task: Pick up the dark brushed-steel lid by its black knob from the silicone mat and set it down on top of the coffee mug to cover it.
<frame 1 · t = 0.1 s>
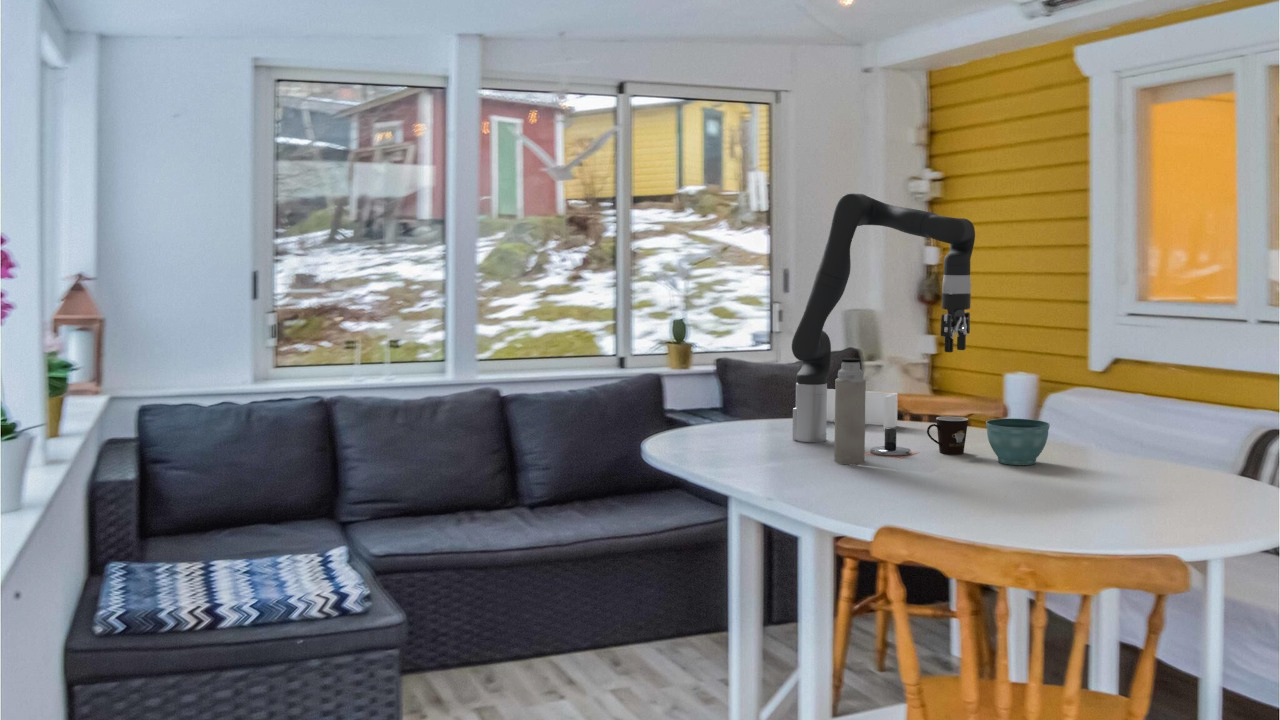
hand: (955, 351, 315), 29 cm above the table, fingers open, 8 cm apart
thermos bottle: (849, 462, 309), on the table
mat: (890, 454, 320), on the table
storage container: (854, 426, 375), on the table
lid: (890, 453, 320), resting on mat
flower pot: (1016, 463, 307), on the table
coffee mug: (945, 454, 321), on the table
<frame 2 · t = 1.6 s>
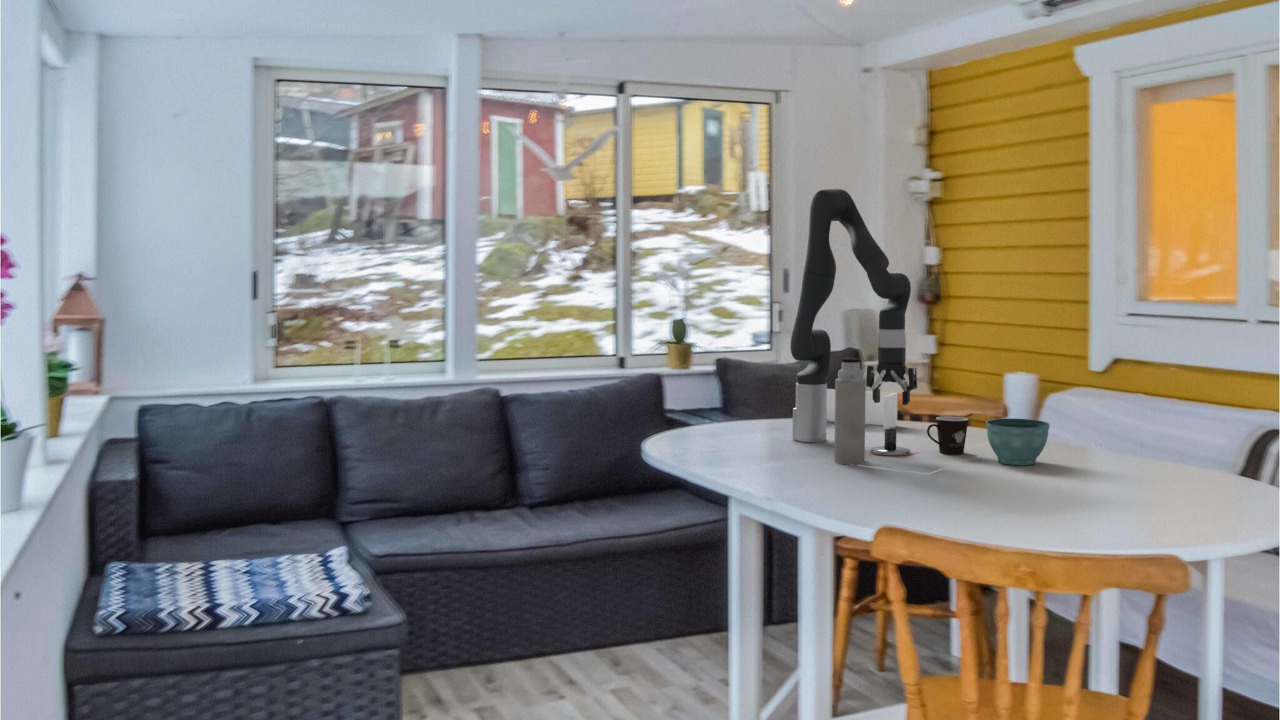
hand: (891, 403, 319), 14 cm above the table, fingers open, 8 cm apart
nothing on the table moved.
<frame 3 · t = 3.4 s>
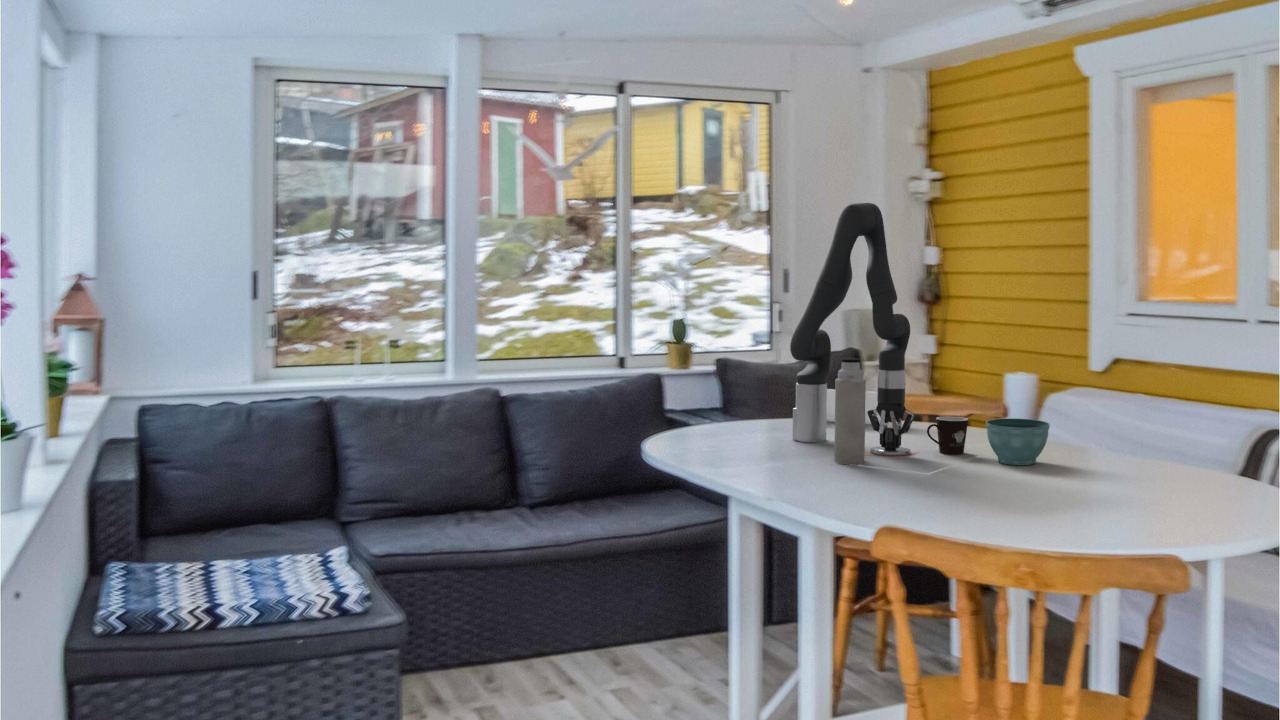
hand: (890, 447, 320), 2 cm above the table, fingers closed on lid, 3 cm apart
lid: (890, 453, 320), resting on mat, touching gripper
everything else where it was.
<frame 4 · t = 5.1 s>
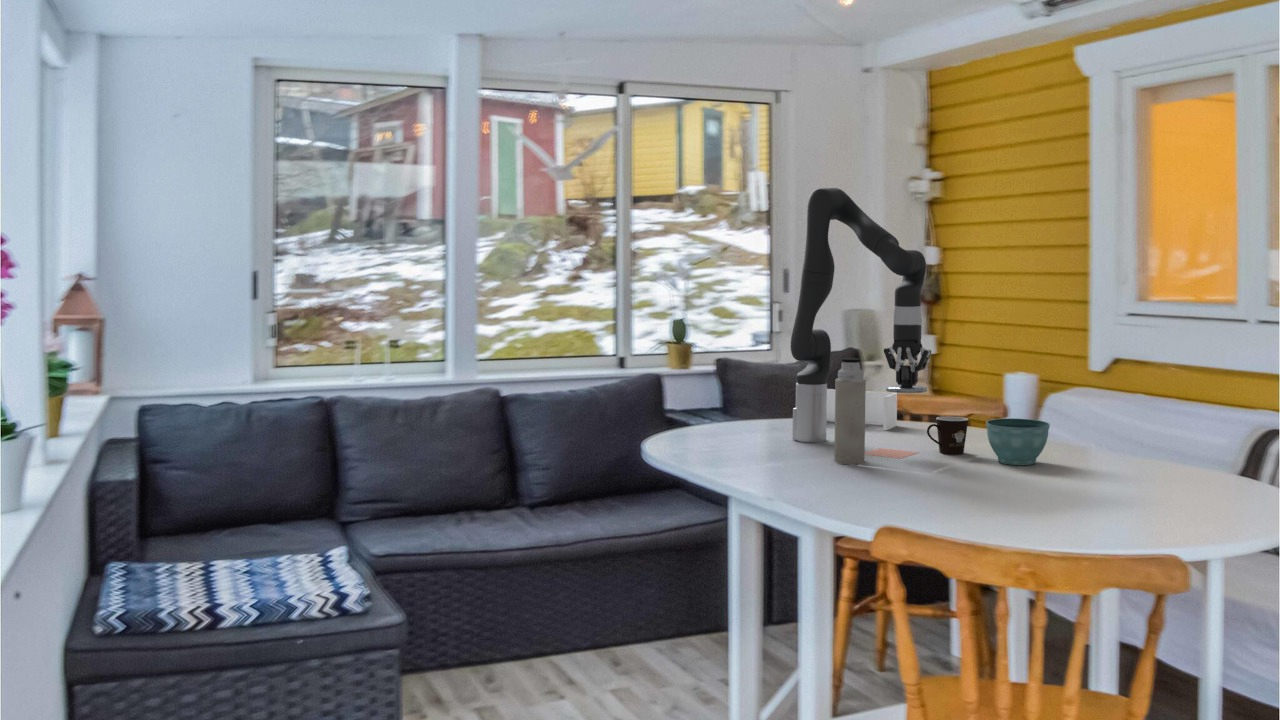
hand: (906, 384, 318), 20 cm above the table, fingers closed on lid, 3 cm apart
lid: (906, 390, 318), point 18 cm above the table, touching gripper
everything else where it was.
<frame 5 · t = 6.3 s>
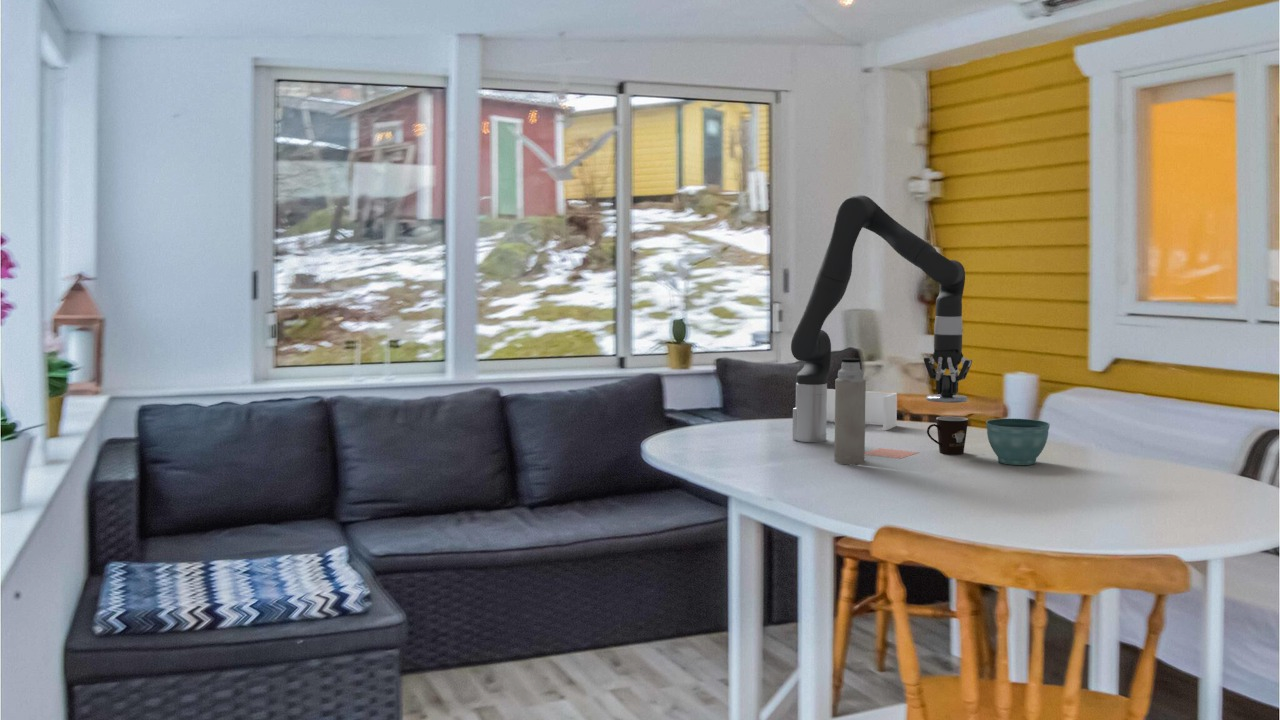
hand: (947, 394, 319), 17 cm above the table, fingers closed on lid, 3 cm apart
lid: (946, 400, 319), point 15 cm above the table, touching gripper
everything else where it was.
when the fingers open (13 cm above the table, at t = 7.2 s): lid drops 1 cm, resting on coffee mug.
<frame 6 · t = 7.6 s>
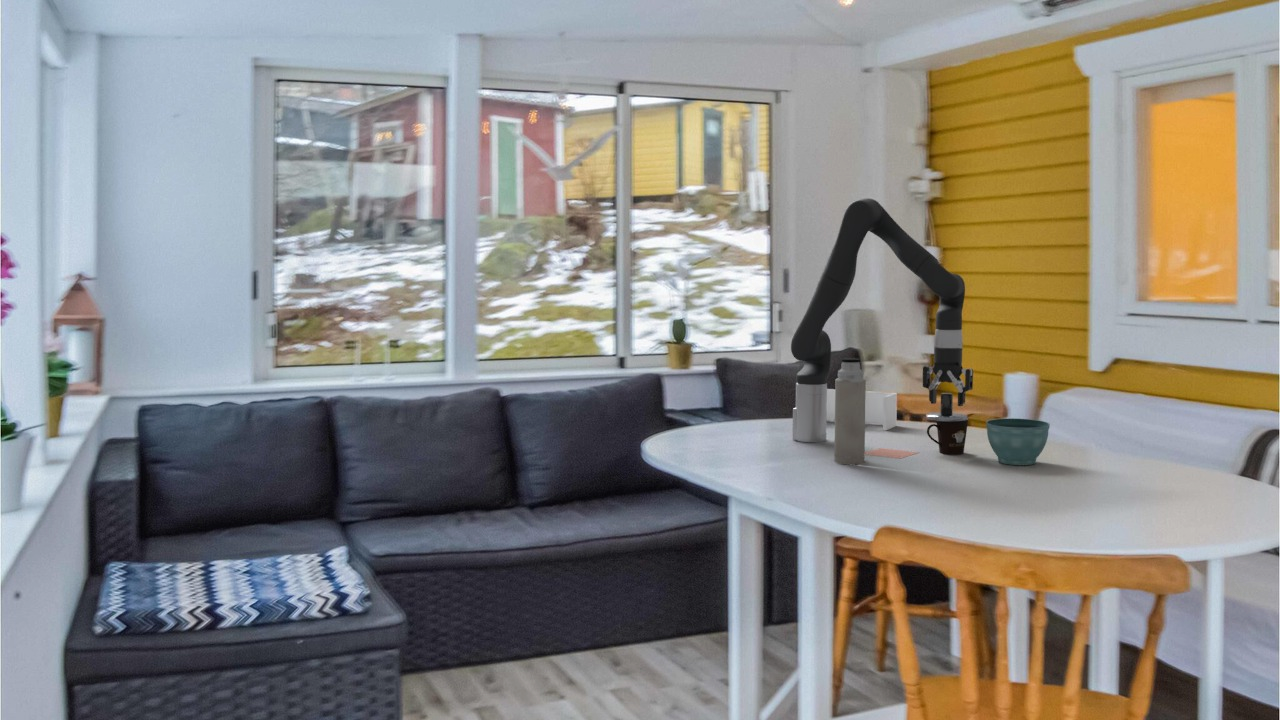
hand: (947, 404, 319), 14 cm above the table, fingers open, 7 cm apart
lid: (946, 418, 320), point 10 cm above the table, touching coffee mug
coffee mug: (945, 454, 321), on the table, touching lid
everything else where it was.
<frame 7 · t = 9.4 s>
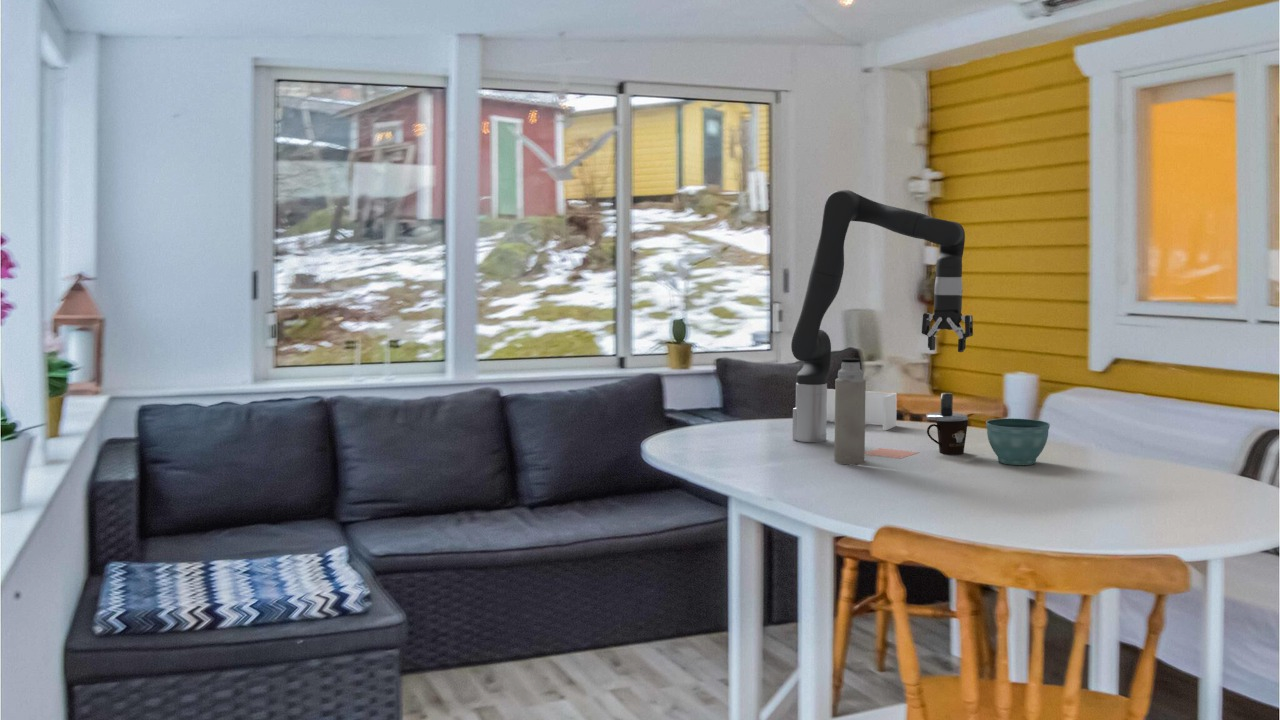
hand: (946, 351, 323), 28 cm above the table, fingers open, 8 cm apart
nothing on the table moved.
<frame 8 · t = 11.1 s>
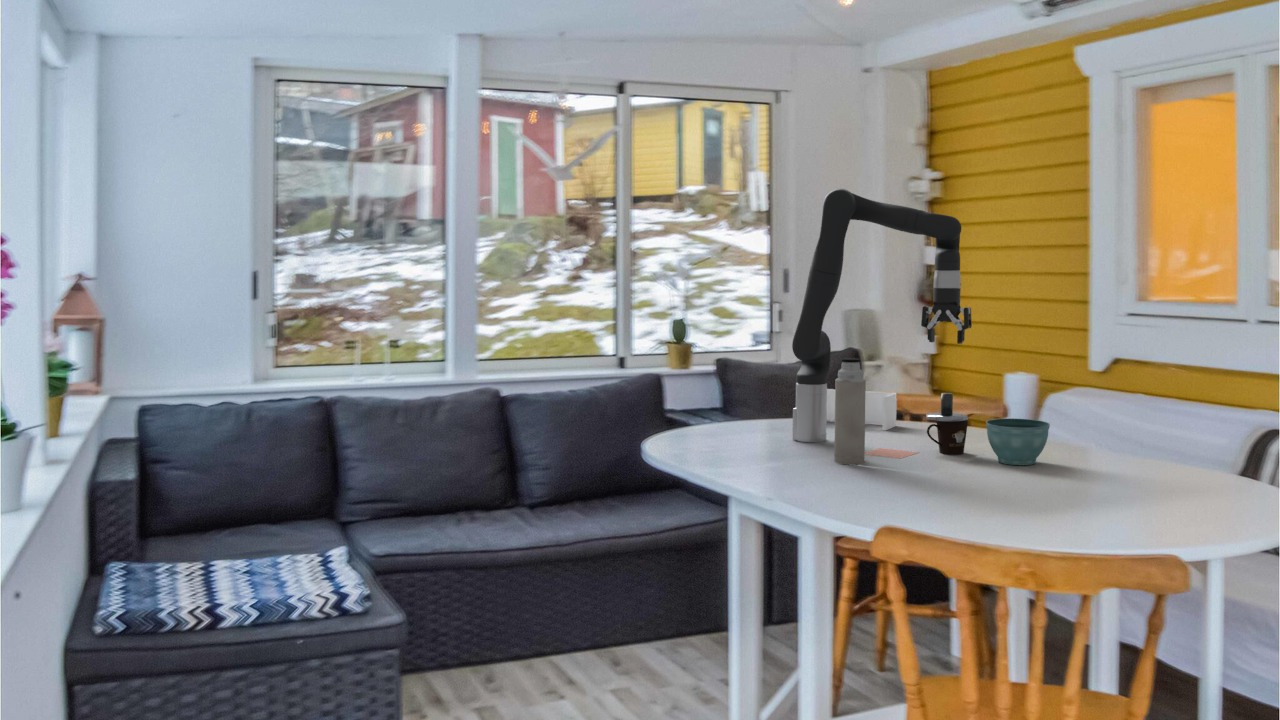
hand: (945, 342, 331), 30 cm above the table, fingers open, 8 cm apart
nothing on the table moved.
at the end: lid 0.1 cm from the coffee mug (horizontally); lid point 10.0 cm above the table; lid tilted 0° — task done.
